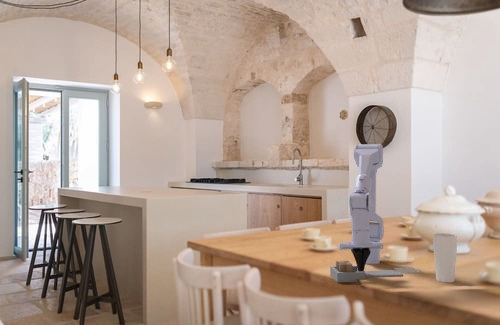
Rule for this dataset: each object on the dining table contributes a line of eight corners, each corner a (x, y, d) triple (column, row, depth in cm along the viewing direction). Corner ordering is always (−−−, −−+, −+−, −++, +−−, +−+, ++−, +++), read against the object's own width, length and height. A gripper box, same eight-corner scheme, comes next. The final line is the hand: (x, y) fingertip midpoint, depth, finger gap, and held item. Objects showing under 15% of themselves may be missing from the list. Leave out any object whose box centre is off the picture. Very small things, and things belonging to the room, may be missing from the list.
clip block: (347, 275, 157) (336, 276, 156) (347, 260, 157) (336, 261, 156) (352, 279, 152) (340, 280, 151) (352, 264, 152) (340, 264, 151)
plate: (393, 270, 164) (393, 267, 164) (412, 270, 164) (412, 267, 164) (401, 275, 157) (401, 272, 157) (421, 275, 157) (421, 272, 157)
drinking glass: (450, 280, 151) (450, 233, 151) (461, 285, 144) (460, 236, 144) (429, 280, 151) (429, 233, 151) (439, 286, 144) (438, 237, 144)
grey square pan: (330, 275, 158) (330, 266, 158) (394, 273, 160) (394, 264, 160) (337, 282, 149) (337, 273, 149) (405, 280, 151) (404, 270, 151)
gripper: (342, 232, 150) (342, 274, 150) (386, 231, 151) (386, 273, 151) (336, 228, 157) (336, 269, 157) (378, 227, 158) (379, 268, 158)
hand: (360, 271), depth 155 cm, fingers closed
